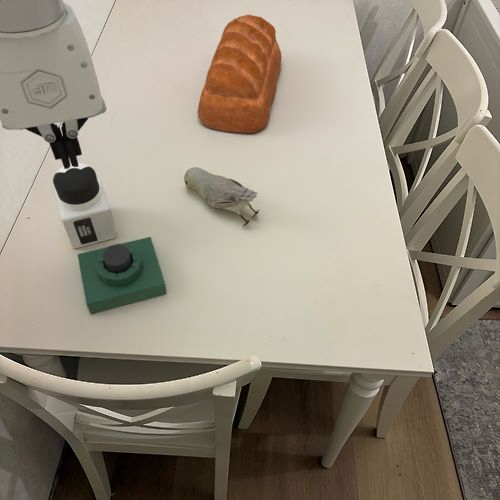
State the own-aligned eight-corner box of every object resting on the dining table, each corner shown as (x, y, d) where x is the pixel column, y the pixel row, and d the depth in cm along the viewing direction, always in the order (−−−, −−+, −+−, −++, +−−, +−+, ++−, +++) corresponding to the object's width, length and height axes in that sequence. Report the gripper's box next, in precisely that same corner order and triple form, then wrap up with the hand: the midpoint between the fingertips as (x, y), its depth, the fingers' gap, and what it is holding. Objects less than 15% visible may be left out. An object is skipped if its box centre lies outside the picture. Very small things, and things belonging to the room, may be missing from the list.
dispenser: (90, 314, 75) (83, 297, 71) (81, 264, 81) (74, 246, 77) (166, 294, 78) (163, 276, 74) (152, 247, 84) (149, 228, 80)
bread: (283, 59, 122) (289, 7, 112) (264, 138, 103) (269, 83, 92) (222, 51, 123) (222, -2, 113) (193, 128, 104) (189, 72, 93)
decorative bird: (195, 178, 94) (193, 148, 88) (263, 216, 89) (266, 187, 83) (177, 194, 92) (174, 164, 86) (246, 234, 86) (248, 205, 80)
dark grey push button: (107, 276, 74) (105, 268, 72) (103, 256, 76) (101, 248, 75) (134, 269, 75) (132, 261, 73) (128, 250, 77) (126, 242, 76)
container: (117, 238, 84) (103, 184, 74) (72, 250, 82) (51, 196, 72) (108, 207, 89) (93, 152, 79) (65, 218, 87) (44, 163, 77)
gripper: (-78, 34, 38) (4, 196, 53) (111, 10, 42) (140, 168, 57) (-75, -8, 43) (1, 152, 57) (97, -26, 46) (127, 129, 61)
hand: (70, 160), depth 57 cm, fingers closed
